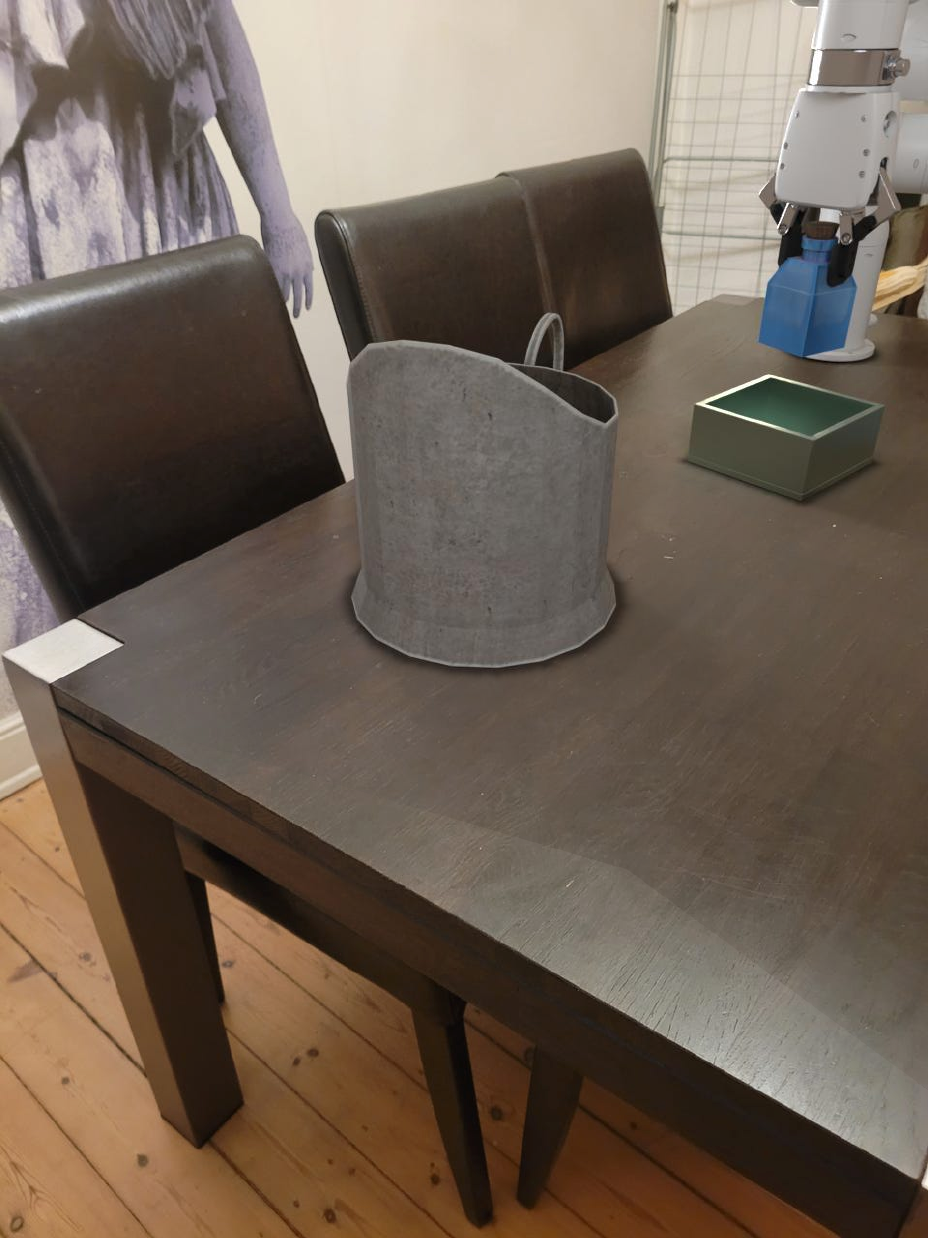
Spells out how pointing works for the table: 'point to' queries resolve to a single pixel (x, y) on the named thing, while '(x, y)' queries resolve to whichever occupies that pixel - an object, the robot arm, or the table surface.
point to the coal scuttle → (480, 502)
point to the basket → (784, 435)
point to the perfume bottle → (808, 299)
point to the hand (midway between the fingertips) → (812, 277)
